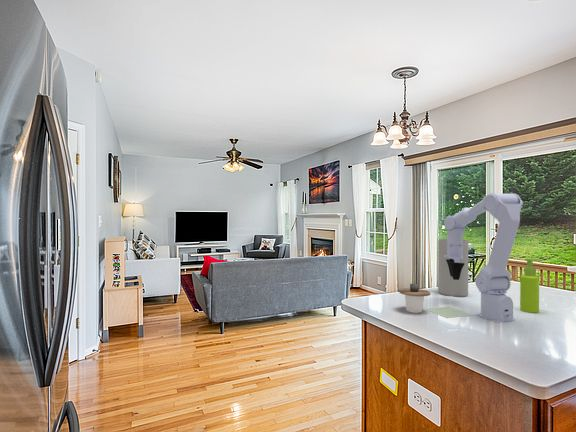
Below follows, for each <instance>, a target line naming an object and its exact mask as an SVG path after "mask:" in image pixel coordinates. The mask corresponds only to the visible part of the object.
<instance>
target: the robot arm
mask: <svg viewBox="0 0 576 432" xmlns="http://www.w3.org/2000/svg"><path fill="white" fill-rule="evenodd" d="M523 205H524V202H523V200H522V198H521V197H520V196H519V195H518V194H517V193H494V192H490V193H488V194H486V195H484V196H483V197H482V199H481V201H479V202H478V203H476V204H474V205H473V206H471V208H470V207H463V208H462V209H461V210H460V211H458V212H456V213H455V214H454V215H447V216H446V217H445V218H444V220H443V223H444V228H445V229H446V230H447V231H446V235H447V237H446V239H447V255H444V257H447V258H450V260H449V259H446V261H447V264H448V267H449V272H450V276H452V277H453V280H459V278H460V274H461V270H462V268H463V266H464V264H465V263H460V261H461V260H460V259H462V258H463V240H464V239H463V237H464V233H465V229H466V227H467V225H469V224H470V223H472V222H475V221H476V220H477V216H479V215H481V214H483V213H486V212H488V213H490V215H491V216H492V217H493V218H494V219H495V220H497V222H498V227H497V231H496V234H495V237H494V241H493V244H492V248H491V251H490V256H489V259H488V262H487V264H486V265H484V266H483V267H481V268H480V269H479V273H478V274H477V275H476V277H475V286H476V288H477V290H478V291H479V292H480V312H478V313H477V312H476V313H474V316H478V317H481V318H484V319H487V320H489V321H492V322H495V323H505V322H514V321H515V320H516V319H515V318H514V302H513V299H512V298H511V297H510V296H508V295H506V294H507V291H509V289H511V288H510V287H511V283H512V282H511V277H512V273H511V272H510V271H509V270H508V269H507V267H508V263H509V260H510V256H511V253H512V250H513V246H514V242H515V239H516V236H517V234H518V233H517V232H518V229H519V226H520V223H521V210H522V209H523Z"/></svg>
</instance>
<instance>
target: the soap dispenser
mask: <svg viewBox="0 0 576 432" xmlns="http://www.w3.org/2000/svg"><path fill="white" fill-rule="evenodd" d="M524 261H526V266H524V267H523V268H524V270H523V273H524V274H522V275H520V278H519V281H520V282H519V285H520V286H519V287H520V288H519V292H520V293H519V294H520V295H519V299H520V301H519V302H520V303H519V310H520V311H522V312H525V313H531V314H538V313H540V276H536V267H534V266H533V264H534V263H533V262H534V261H538V262H543V260H542V259H539V258H531V257H530V258H529V257H528V258H524Z"/></svg>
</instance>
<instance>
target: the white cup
mask: <svg viewBox="0 0 576 432" xmlns="http://www.w3.org/2000/svg"><path fill="white" fill-rule="evenodd" d="M404 298H405V310H406V311H407V312H410V313H413V314H414V313H415V314H416V313H417V314H418V313H422V312H423V309H424V301H425V300H424V299H425V296H409V295H404Z"/></svg>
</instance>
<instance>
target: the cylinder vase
mask: <svg viewBox="0 0 576 432" xmlns="http://www.w3.org/2000/svg"><path fill="white" fill-rule="evenodd" d="M437 243H438V245H437V247H438V248H437V250H438V253H437V255H438V256H437V262H438V263H437V292H438V294H440V295H443V296H447V297H456V298H459V297H460V298H462V297H467V296H468V295H469V240H468V239H463V258H462V259H460V260H461V261H460V263H465V264H464V266H463V268H462V270H461V274H460V278H459V280H453V277H452V276H450V272H449V267H448V264H447V261H446V259H449V260H450V258H447V257H444V255H447V238H440V239H438V240H437Z"/></svg>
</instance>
